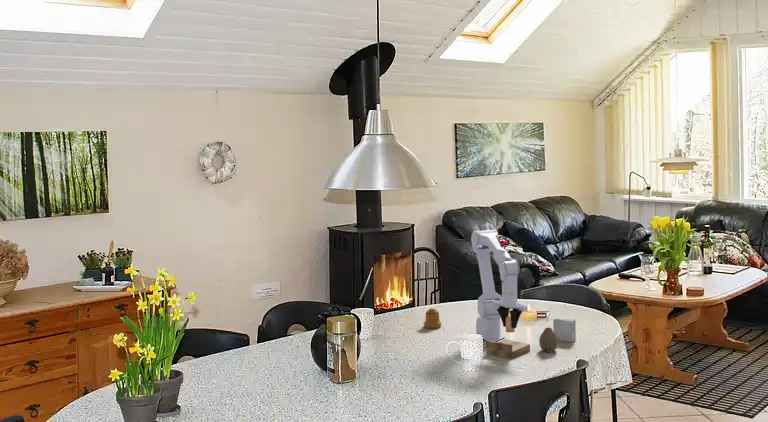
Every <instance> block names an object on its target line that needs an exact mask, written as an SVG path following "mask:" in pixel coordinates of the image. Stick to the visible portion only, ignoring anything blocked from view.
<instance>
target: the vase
mask: <svg viewBox="0 0 768 422" xmlns="http://www.w3.org/2000/svg"><path fill="white" fill-rule="evenodd" d="M552 328H553V327H545V328H544V330H543V332H541V334H540V336H539V340H538V341H539V342H538V343H539V347H540V349H541V350H542V351H543V352H546V353H553V352H555V350H556V349H557V348H558V345H559V340H558V339H557V336H556V334H555V333H554V332H553V329H552Z"/></svg>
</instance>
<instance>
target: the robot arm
mask: <svg viewBox="0 0 768 422" xmlns="http://www.w3.org/2000/svg"><path fill="white" fill-rule="evenodd" d="M470 238H471V239H470V242H471V246H472V251H473V252H474V253H475V254H476V256H477V261H478V262H477V263H478V269H479V276H480V282H481V287H482V294H481V295H480V296H479V297H478V299H477V312H478V313H477V314H478V317H477V318H476V320H475V335H476V334H480V335H482V337H483V339H484V341H487V340H490V341H495V342H499V341H500V340H504V338H505V339H506V337H505V335H501V322H502V327H504V328H506V316H511V326H512V328H513V329H514V328H515V329H516V328H517V326H518V322H519V320H520V317H521V315H522V313H523V312H527V311H528V305H525V304H522V303H519V302H518V276H519V274H520V271H521V268H520V267H521V266H520V262H519V261H518V260H517V259H515V258H512V256H511V255H510V253H509V252H508V251H507V250H506V249H505V248H503V247H502V246H501V244H500V242H499V233H498V231H497V229H495V228H494V229H486V230H473V231H472V233H471V237H470ZM491 253H493V257H492V258H493V260H494V261H495V263H496V264H497V266H498V271H499V275H500V278H499V279H500V281H501V294H499V293H498V292H496V287H495V282H494V275H493V269H492V268H493V267H492V261H491V256H490V254H491Z"/></svg>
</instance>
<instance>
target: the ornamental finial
mask: <svg viewBox="0 0 768 422" xmlns="http://www.w3.org/2000/svg"><path fill="white" fill-rule="evenodd" d="M423 326H424V328H425V329H430V330H436V329H439V328H441V327H442V322H441V321H440V311H438V310H437V309H436V308H434V307H433V308H432V307H431V308H429V309H427V310H426V311H425V320H424V322H423Z"/></svg>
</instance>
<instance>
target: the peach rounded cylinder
mask: <svg viewBox="0 0 768 422" xmlns="http://www.w3.org/2000/svg"><path fill="white" fill-rule="evenodd" d="M515 330H516V328H514V329H513V328H512V326H511V316H510V315H508V316H506V327H505V332H506V333H514V332H515Z"/></svg>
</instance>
